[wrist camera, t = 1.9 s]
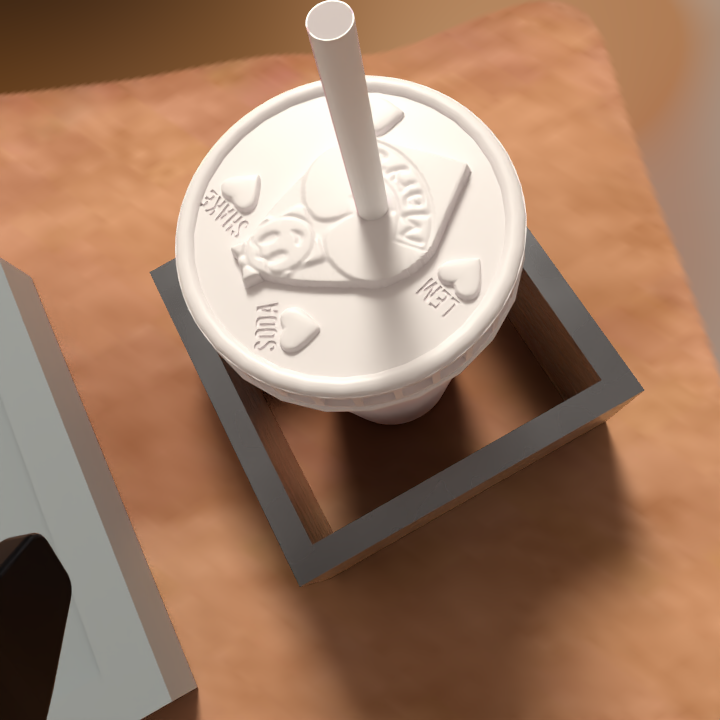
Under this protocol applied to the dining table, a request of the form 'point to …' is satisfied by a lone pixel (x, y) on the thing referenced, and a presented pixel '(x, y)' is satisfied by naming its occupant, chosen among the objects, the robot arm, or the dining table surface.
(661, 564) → the dining table surface
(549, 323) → the cup holder
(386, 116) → the smoothie
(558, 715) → the dining table surface
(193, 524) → the dining table surface
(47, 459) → the tray
